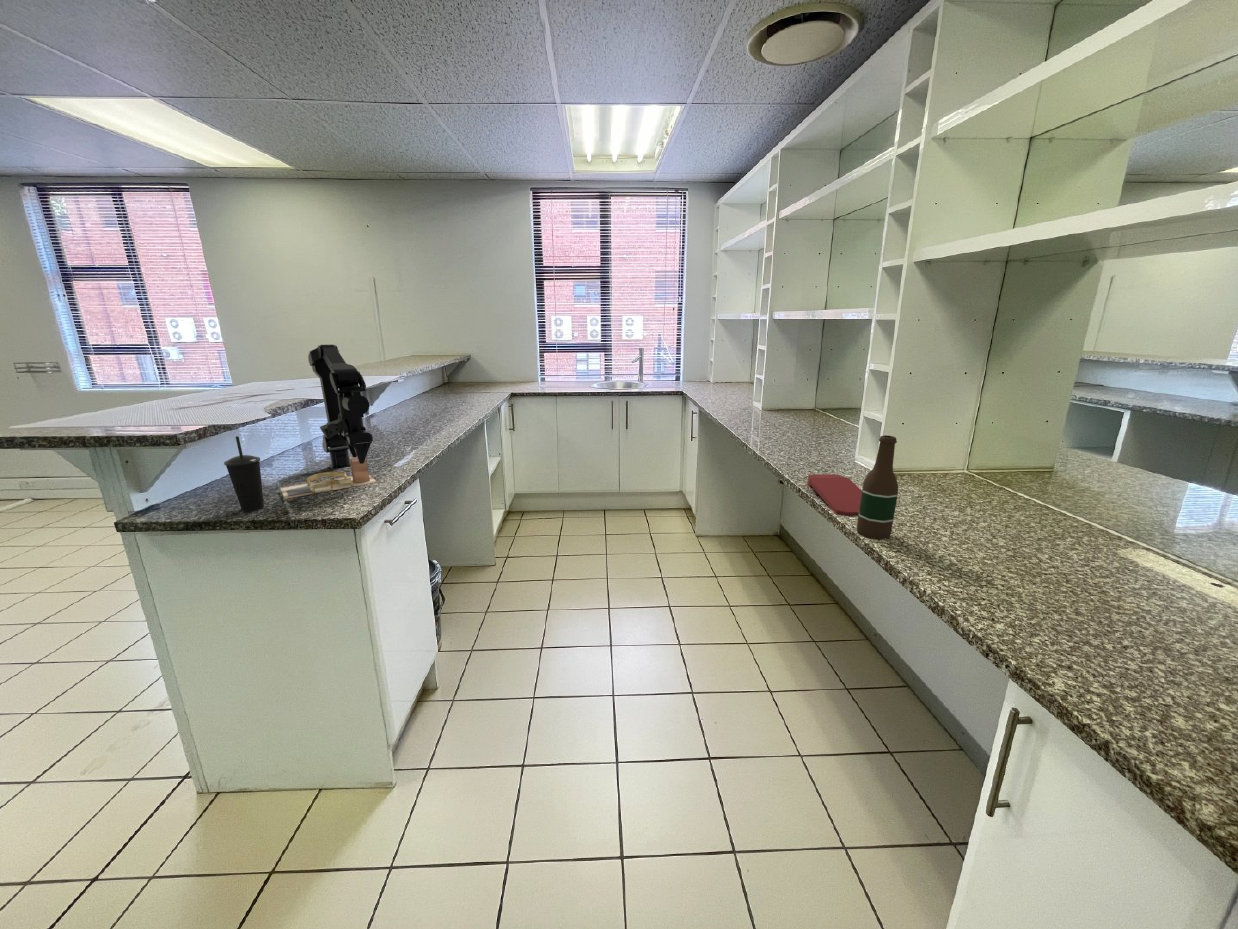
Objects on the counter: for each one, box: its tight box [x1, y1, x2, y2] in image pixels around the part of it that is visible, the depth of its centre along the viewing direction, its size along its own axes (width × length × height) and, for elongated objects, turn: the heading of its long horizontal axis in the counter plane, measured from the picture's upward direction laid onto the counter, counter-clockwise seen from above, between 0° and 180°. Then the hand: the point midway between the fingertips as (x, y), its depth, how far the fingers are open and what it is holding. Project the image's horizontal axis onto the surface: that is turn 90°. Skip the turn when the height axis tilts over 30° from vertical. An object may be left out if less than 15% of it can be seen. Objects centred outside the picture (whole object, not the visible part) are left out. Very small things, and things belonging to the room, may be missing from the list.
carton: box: [806, 473, 862, 516], centre depth 139 cm, size 12×5×25 cm
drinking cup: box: [223, 436, 265, 513], centre depth 127 cm, size 8×8×20 cm
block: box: [350, 457, 370, 483], centre depth 150 cm, size 4×4×7 cm
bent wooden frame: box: [306, 470, 354, 495], centre depth 146 cm, size 12×11×2 cm
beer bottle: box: [856, 434, 899, 541], centre depth 113 cm, size 8×8×24 cm
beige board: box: [279, 474, 378, 503], centre depth 147 cm, size 12×24×1 cm, turn 130°
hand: (358, 460), depth 149 cm, fingers open, 9 cm apart
